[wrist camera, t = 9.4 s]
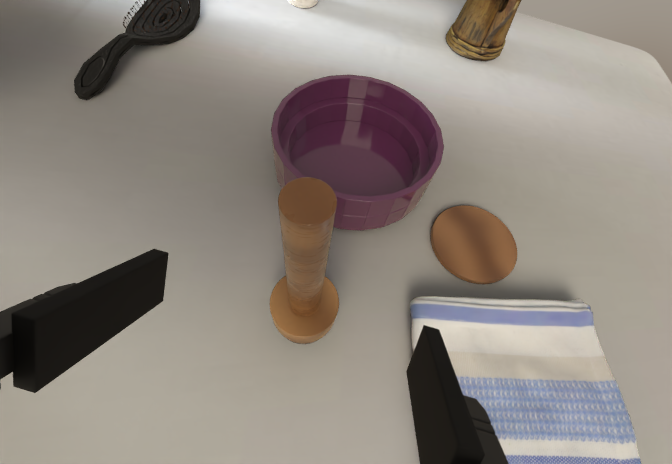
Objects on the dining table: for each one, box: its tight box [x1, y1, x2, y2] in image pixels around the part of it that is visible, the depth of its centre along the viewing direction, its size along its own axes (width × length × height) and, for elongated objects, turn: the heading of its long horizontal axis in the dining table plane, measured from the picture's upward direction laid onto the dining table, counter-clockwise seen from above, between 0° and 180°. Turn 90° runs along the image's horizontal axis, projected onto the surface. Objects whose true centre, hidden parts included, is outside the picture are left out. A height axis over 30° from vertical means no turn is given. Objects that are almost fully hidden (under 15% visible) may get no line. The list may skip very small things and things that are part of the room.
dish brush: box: [270, 177, 339, 344], centre depth 21 cm, size 5×5×18 cm
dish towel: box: [410, 296, 641, 464], centre depth 24 cm, size 17×24×3 cm
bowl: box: [271, 75, 444, 231], centre depth 35 cm, size 17×17×6 cm
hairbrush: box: [74, 0, 200, 100], centre depth 43 cm, size 8×4×25 cm
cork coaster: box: [431, 205, 517, 284], centre depth 34 cm, size 9×9×1 cm
